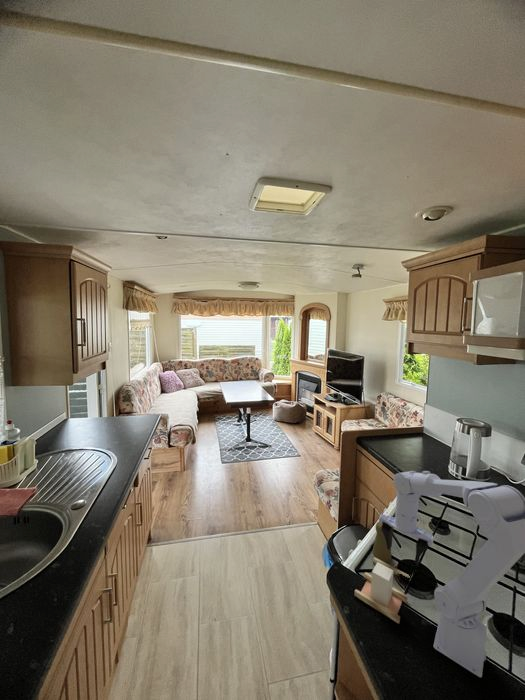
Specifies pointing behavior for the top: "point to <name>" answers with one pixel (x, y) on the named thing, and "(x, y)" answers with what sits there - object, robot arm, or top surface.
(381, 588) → the peg
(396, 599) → the tray
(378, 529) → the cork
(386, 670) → the top surface
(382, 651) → the top surface
